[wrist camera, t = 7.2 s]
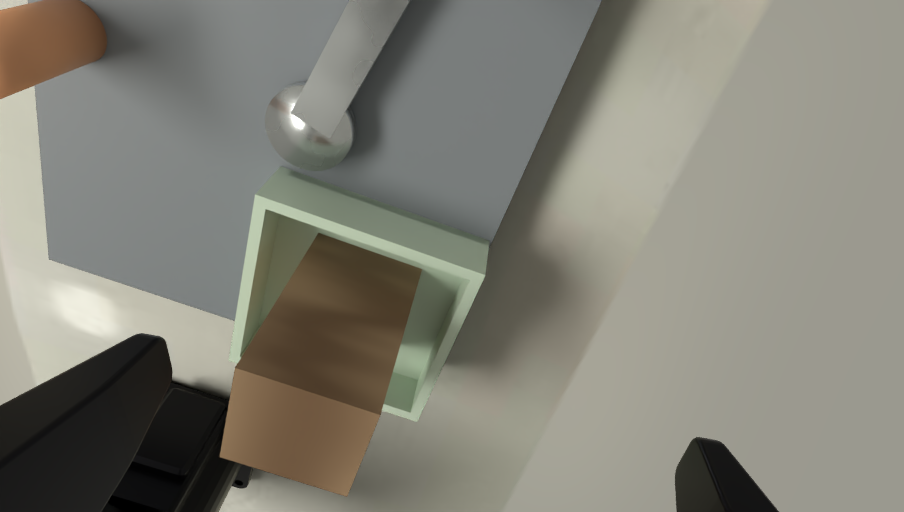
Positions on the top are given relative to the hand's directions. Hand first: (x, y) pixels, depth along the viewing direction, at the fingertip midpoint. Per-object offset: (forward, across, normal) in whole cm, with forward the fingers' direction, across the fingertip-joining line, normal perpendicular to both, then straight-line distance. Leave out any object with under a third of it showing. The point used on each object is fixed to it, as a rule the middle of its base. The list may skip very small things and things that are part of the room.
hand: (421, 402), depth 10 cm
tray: (+11, +4, +7) cm, 13 cm away
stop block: (+10, +4, +6) cm, 13 cm away
